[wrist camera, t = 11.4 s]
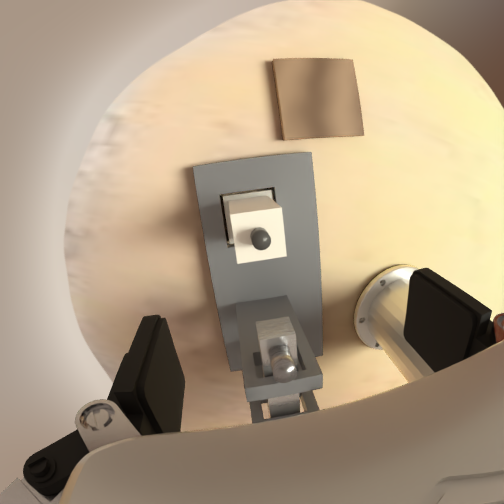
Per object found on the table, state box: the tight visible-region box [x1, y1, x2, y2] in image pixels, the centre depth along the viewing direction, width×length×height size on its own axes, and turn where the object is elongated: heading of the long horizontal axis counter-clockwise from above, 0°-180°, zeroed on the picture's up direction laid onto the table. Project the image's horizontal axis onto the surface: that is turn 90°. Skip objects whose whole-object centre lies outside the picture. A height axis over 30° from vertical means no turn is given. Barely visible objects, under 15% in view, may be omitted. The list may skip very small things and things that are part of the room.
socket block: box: [193, 152, 323, 424], centre depth 27 cm, size 12×25×15 cm, turn 7°
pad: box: [272, 58, 364, 140], centre depth 28 cm, size 9×9×1 cm
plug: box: [223, 189, 287, 264], centre depth 27 cm, size 5×5×10 cm
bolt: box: [256, 316, 300, 418], centre depth 24 cm, size 3×22×5 cm, turn 7°
